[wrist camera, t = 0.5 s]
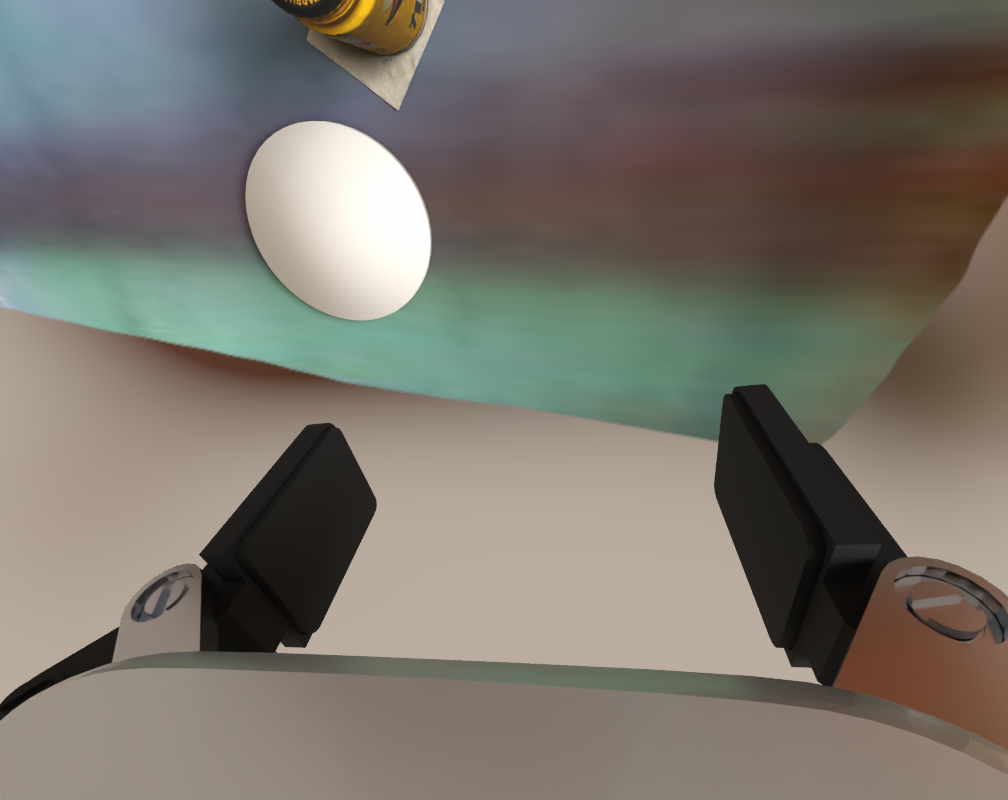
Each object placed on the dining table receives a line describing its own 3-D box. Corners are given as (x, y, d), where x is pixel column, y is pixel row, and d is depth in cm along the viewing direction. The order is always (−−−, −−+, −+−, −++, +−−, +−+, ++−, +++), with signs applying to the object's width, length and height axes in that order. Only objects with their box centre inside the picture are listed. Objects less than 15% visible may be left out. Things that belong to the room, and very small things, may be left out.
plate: (217, 142, 34) (208, 143, 33) (400, 100, 31) (395, 100, 30) (301, 324, 43) (296, 328, 42) (451, 306, 39) (448, 310, 39)
